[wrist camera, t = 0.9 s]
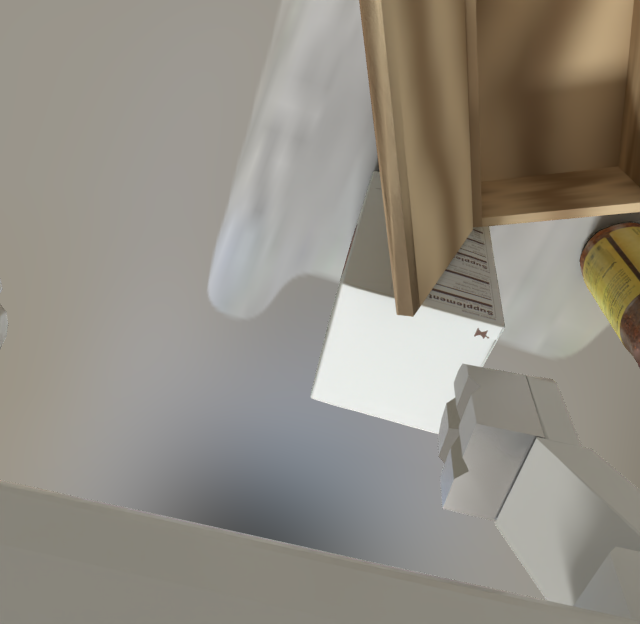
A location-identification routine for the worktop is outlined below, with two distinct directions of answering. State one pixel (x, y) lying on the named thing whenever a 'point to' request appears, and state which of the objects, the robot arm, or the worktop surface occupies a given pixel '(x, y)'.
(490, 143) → the bread box
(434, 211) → the lid
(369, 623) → the robot arm
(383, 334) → the supplement box
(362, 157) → the worktop surface
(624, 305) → the sauce bottle
